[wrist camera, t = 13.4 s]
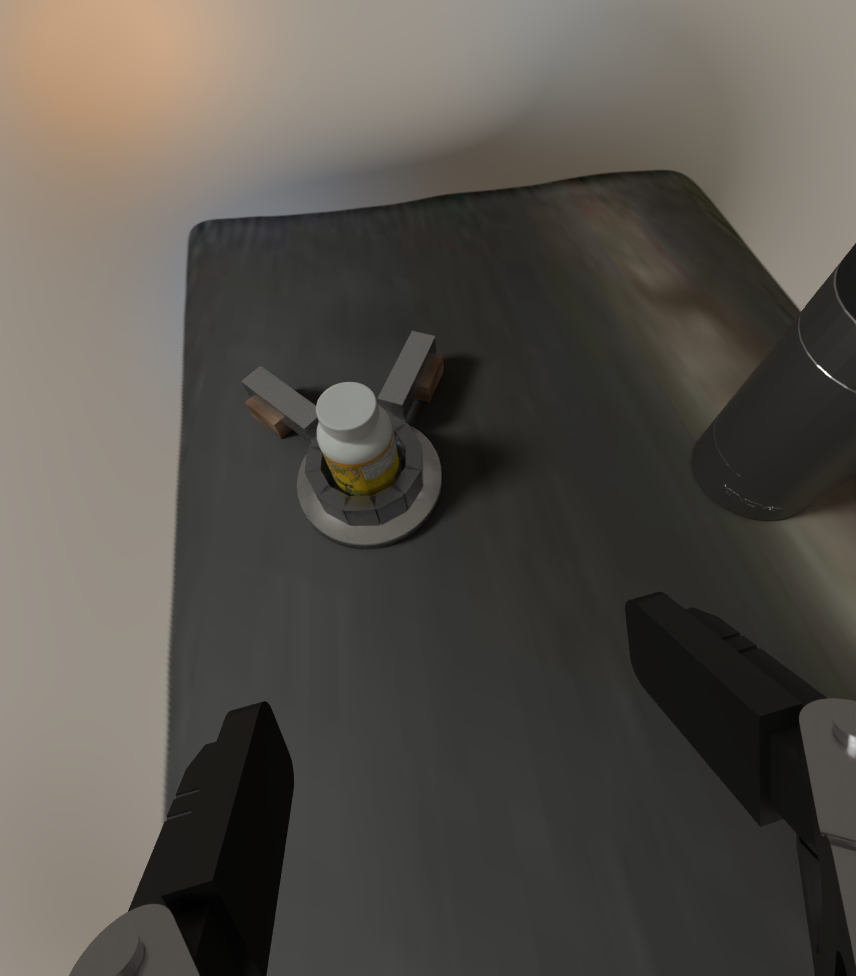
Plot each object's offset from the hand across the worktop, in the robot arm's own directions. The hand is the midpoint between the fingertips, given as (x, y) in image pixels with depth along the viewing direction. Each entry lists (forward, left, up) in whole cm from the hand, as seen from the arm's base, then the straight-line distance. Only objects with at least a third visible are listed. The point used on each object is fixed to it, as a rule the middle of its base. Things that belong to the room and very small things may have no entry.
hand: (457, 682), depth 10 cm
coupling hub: (-13, -15, -24) cm, 31 cm away
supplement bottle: (-12, -15, -23) cm, 30 cm away
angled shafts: (-19, -22, -22) cm, 36 cm away
